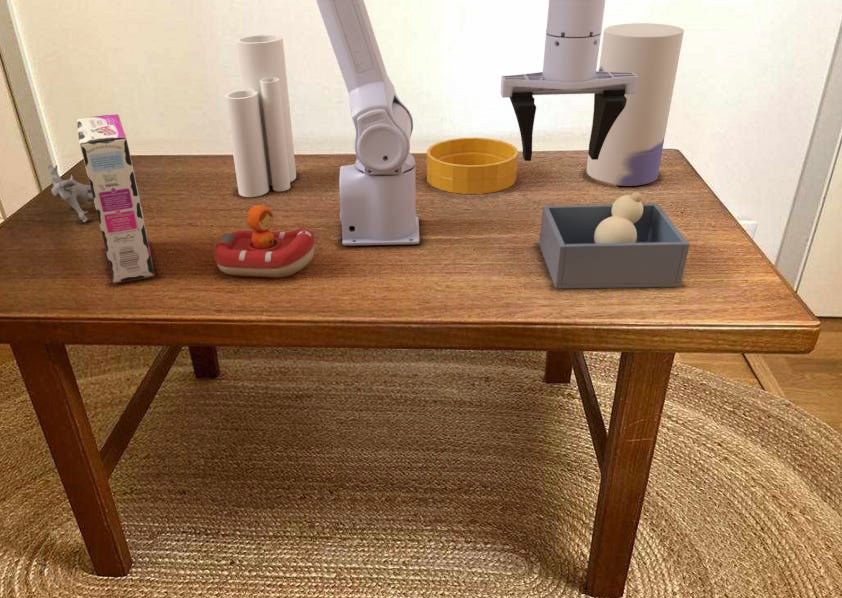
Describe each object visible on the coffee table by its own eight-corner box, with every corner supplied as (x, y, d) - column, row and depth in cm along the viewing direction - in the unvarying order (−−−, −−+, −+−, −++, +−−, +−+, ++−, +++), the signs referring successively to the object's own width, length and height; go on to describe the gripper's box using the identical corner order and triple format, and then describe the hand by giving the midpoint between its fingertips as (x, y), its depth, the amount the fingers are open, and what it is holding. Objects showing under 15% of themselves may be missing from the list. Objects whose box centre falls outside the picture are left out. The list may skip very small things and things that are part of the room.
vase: (261, 170, 115) (244, 34, 104) (304, 172, 113) (292, 34, 102) (233, 196, 105) (211, 50, 95) (279, 198, 104) (263, 50, 93)
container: (593, 161, 112) (611, 20, 101) (661, 168, 108) (688, 23, 97) (579, 182, 105) (597, 33, 94) (652, 190, 101) (679, 36, 90)
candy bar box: (158, 277, 84) (127, 136, 75) (113, 285, 83) (77, 143, 74) (147, 240, 93) (119, 111, 84) (107, 248, 92) (73, 117, 83)
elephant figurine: (133, 207, 104) (83, 207, 96) (111, 234, 106) (60, 236, 98) (96, 153, 105) (44, 149, 97) (75, 181, 108) (23, 179, 100)
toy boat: (308, 283, 81) (302, 220, 77) (209, 280, 83) (198, 218, 79) (322, 254, 88) (317, 194, 84) (230, 251, 89) (221, 192, 85)
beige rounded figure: (595, 243, 80) (623, 181, 80) (582, 249, 84) (608, 190, 84) (633, 261, 80) (661, 199, 80) (617, 265, 84) (644, 207, 84)
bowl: (428, 198, 102) (428, 167, 99) (425, 167, 113) (425, 138, 110) (521, 196, 101) (524, 165, 98) (510, 165, 112) (511, 136, 109)
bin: (555, 288, 78) (560, 246, 75) (539, 244, 88) (542, 205, 85) (680, 286, 77) (689, 244, 75) (650, 242, 87) (657, 203, 84)
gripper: (632, 24, 81) (614, 145, 88) (501, 28, 81) (494, 148, 89) (650, 36, 75) (629, 164, 82) (508, 40, 75) (500, 167, 83)
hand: (559, 157), depth 85 cm, fingers open, 7 cm apart
